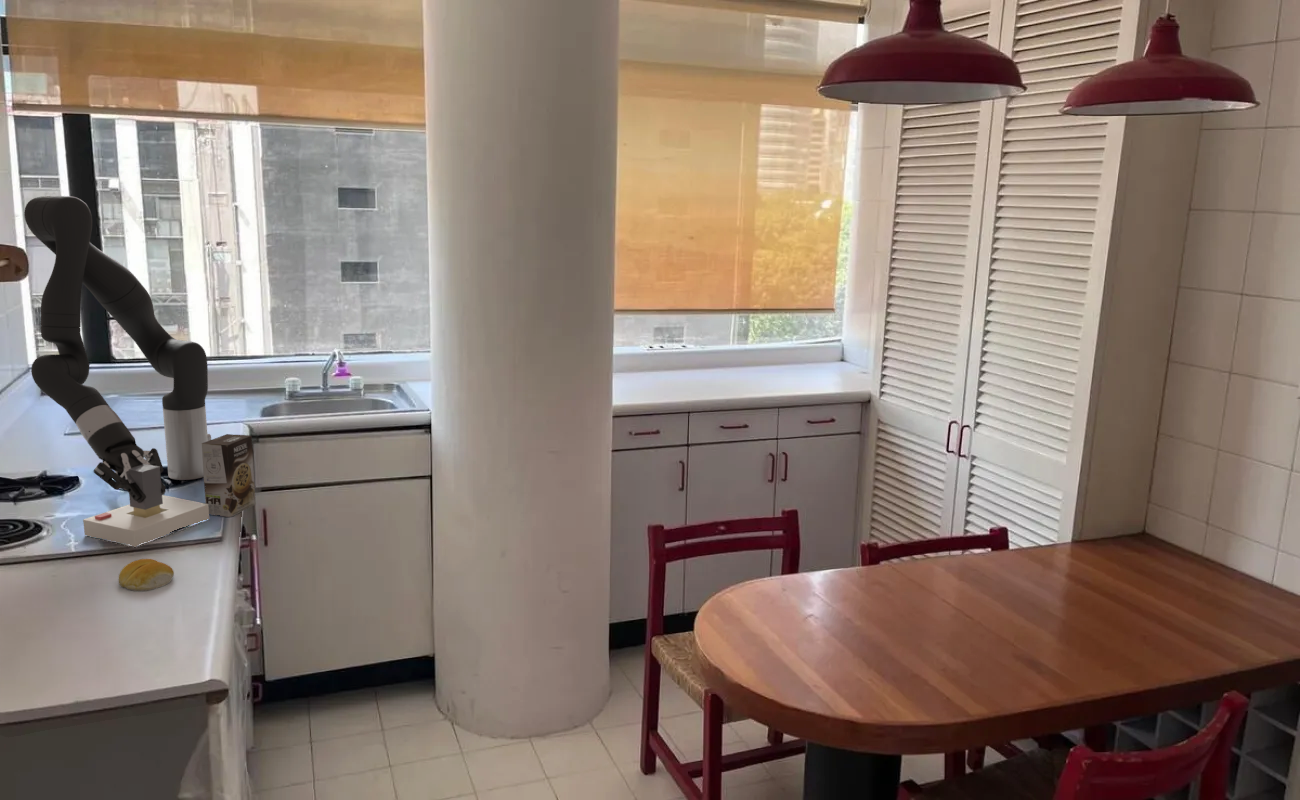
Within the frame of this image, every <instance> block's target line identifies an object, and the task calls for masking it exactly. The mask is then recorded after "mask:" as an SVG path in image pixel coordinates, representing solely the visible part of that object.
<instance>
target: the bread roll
mask: <svg viewBox="0 0 1300 800" xmlns="http://www.w3.org/2000/svg"><path fill="white" fill-rule="evenodd" d="M174 574H175V573H174V569H173V568H172V566H170V565H168V564H167V563H164V562H160V561H158V560H156V559H154V558H141V559H137V560H134V561H131V562H129V563H128V564H126V565H125V566H124V567H123V568H122V569H121V570H120V573H119V574H118V579H117V580H118V583H119V586H120V587H121V588H123V589H127V590H129V591H134V592H144V591H146V592H147V591H151V590H156V589H158V588H161V587H164V586H166V585H168V584H169V583H170V582H171V581H172V579H173V577H174Z"/></svg>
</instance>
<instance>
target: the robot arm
mask: <svg viewBox="0 0 1300 800" xmlns="http://www.w3.org/2000/svg"><path fill="white" fill-rule="evenodd" d="M23 215H24V220H25V224H26V225H27V228H29V230H30V231H31V233H32V234H33V235H34V236H35V237H36V239H38V240H39V241H40V242H41V243H43V245H44V246H45V247H46V248H48V250H50V251H51V252H52V253H53V254H54V255H55V260H54V265H53V269H52V272H51V274H50V276H49V279H48V280H47V283H46V285H45V287H44V291H43V294H42V297H41V303H40V336H41V338H42V340H44V341H46V342H48V343H52V344H55V346H56V348H57V351H58V354H44V355H41V356H38V357H37V358H35V359H34V361H33V362H32V363H31V364H32V365H31V373H30V374H31V377H32V379H33V381H34V383H35V384H36V386H37V387H38V388H39V389H40V390H41V391H42V392H44V394H46V396H48V397H49V398H50V399H52V400H53V401H54V402H55V403H56V404H58V405H59V406H60V407H62V408H63V409H65V411H66V413H67V414H68V415H69V417H70V418H71V420H72V421H73V422H74V424H75V425H76V426H77V428H78V430H79V433H80V434H81V436H82V437H83V438H84V440H85V441H86V442H87V444H88V445H89V446H90V448H91V449H92V450H93V452H94V453H95V455H96V456H97V457H98V459H100V460H102V462H98V464H97V465H96V467H95V468H94V469H93V473H94V474H95V475H96V476H98V478H100V479H102V481H104V482H105V483H107V485H109V486H110V487H111V488H113V490H116V491H118V490H120V489H123V490H125V491H127V492H128V494H130V495H131V497H132V498H133V499H134V500H135V501H137V502H138V503H141V502H143V500H144V499H145V498H146V495H145V494H144V493H143V492H142V490H141V489H140V488H139V486H138V485H137V484H136V483H134V479H133V478H132V476H131V475H130V471H129V469H131V468H132V467H136V466H139V465H145V464H149V465H154V466H159V467H160V475H161V474H162V473H163V472H164V467H163V464H162V460H161V457H160V455H159V452H158V449H157V448H154V447H153V448H151V449H150V450H144V449H143V448H141V447H140V446H139V445H137V442H136V438H135V436H134V435H133V434H132V432H131V431H130V430H129V428H128V426H126V425H125V423H124V422H123V420H122V419H121V418H120V416H119V415H118V413H116V412H115V411H114V410H113V409H112V408H111V406H110V405H109V404H108V402H107V401H106V400H105V398H104V397H103V396H102V394H101V393H100V392H99V391H98V390H97V389H96V388H95V387H93V386H89V385H85V384H84V383H85V382H86V381H87V379H88V377H89V374H90V361H89V358H88V355H87V351H86V348H85V344H84V341H83V338H82V335H81V329H82V328H81V325H82V324H81V323H82V321H81V319H82V317H81V313H82V311H81V305H82V304H81V303H82V288H83V285H84V287H86V288H87V289H88V291H90V294H92V295H93V296H94V298H95V300H97V302H98V303H99V304H100V305H101V306H102V307H103V309H105V310H106V312H107V313H108V314H109V315H110V316H111V317H112V318H113V319H114V320H115V322H117V324H118V325H119V326H120V327H121V328H122V329H123V330H124V332H126V334H127V335H128V336H129V337H130V338H131V339H132V340H133V342H134V343H135V344H136V345H137V347H138V348H139V350H140V351H141V353H142V354H143V355H144V357H145V358H146V360H147V361H148V363H149V364H150V365H151V367H152V369H154V370H155V372H157V373H158V374H159V375H161V376H163V377H166V378H171V379H173V390H172V391H171V392H168V393H166V394H164V395H163V396H162V399H161V402H162V403H161V405H162V415H163V417H162V418H163V427H164V438H165V439H164V440H165V449H166V450H165V451H166V463H167V474H168V478H170V479H172V480H176V481H178V480H179V481H185V480H186V481H190V480H196V479H201V478H204V473H203V457H202V443H204V442H207V441H210V440H212V435H211V434H210V433H208V424H207V423H208V422H207V409H206V397H207V395H208V391H209V390H208V389H209V380H208V377H209V376H208V373H209V370H208V356H207V354H206V352H205V351H206V350H205V349H204V348H203V346H201V345H200V344H199V343H197V342H196V341H195V342H194V341H189V340H182V339H181V340H180V339H176V338H175V337H173V336H172V335H170V334H169V333H168V332H167V331H166V329H164V327H163V326H162V325H161V324H160V323H159V321H158V320H157V318H156V315H155V310H154V304H153V300H152V298H151V296H150V293H149V291H148V290H147V288H145V287H144V285H143V284H142V283H141V281H140V280H139V279H138V278H137V277H136V276H135V275H134V273H132V271H130V269H128V268H127V267H125V266H124V265H123V264H121V263H120V262H118V261H117V260H116V259H114V258H112V257H111V256H109V255H108V254H106V253H105V252H104V251H102V250H100V249H99V248H98V247H96V246H95V245H94V244H92V242H91V237H92V236H91V235H92V229H93V215H92V212H91V209H90V208H89V205H88V204H87V203H86V202H84V201H83V200H82V199H81V198H78V197H76V196H69V195H44V196H37V197H33V198H31V199H30V200H29V201H27V203H26V205H25V207H24V214H23ZM166 488H167V487H166V486H165V484H164V483H163V482H162V480H161V493H162V495H164V494H165V493H166Z"/></svg>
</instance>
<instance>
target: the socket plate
mask: <svg viewBox="0 0 1300 800" xmlns="http://www.w3.org/2000/svg"><path fill="white" fill-rule="evenodd" d="M162 500H163V504H161V505H160V513H158V514H155V515H153V516H150V517H147V518H144V517H139V516H134V508H133V507H131V506H130V503H129V504H127V505H124V506H123V505H122V506H121V507H118V508H114V509H112V510H111V509H110V510H108V511H106V512H105V511H104V512H102V513H99V514H96V515H93V516H90V517H86V518H84V519H82V521H83V523H82V524H83V529H84V530H83V531H84V536H85V535H87V536H91V537H96V538H102V539H107V540H111V541H116V542H120V543H126V544H130V545H132V546H134V547H136V546H137V545H139V544H141V543H144V542H148V541H150V540H153V539H155V538H158V537H161V536H164V535H166V534H169V533H170V532H172V531H174V530H177V529H179V528H182V527H186V526H188V525H191V524H194V523H198V522H200V521H203V520H207V519H209V520H210V515H209V507H208V504H205V502H198V501H195V500H189V499H184V498H179V497H174V496H169V495H164V494H163V495H162ZM87 536H86V537H87ZM91 537H90V538H91ZM134 547H133V548H134ZM136 548H137V547H136Z"/></svg>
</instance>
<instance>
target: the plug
mask: <svg viewBox="0 0 1300 800" xmlns="http://www.w3.org/2000/svg"><path fill="white" fill-rule="evenodd" d="M129 471H130V475H131V476H132V478H133V479H134V483H136V484H137V485H138V486H139V488H140V489H141V490H142V492H143V493H144V494H145V495H146V498H145V499H144V500H143V502H141V503H138V502H137V501H135V500H134V499H133V498H132V497H131V495H130V494H129V493H128V494H129V495H128V496H129V497H128V498H129V504H130V506H131V507H133V508H134V516H139V517H144V518H147V517H150V516H153V515H155V514H158V513H160V505H161V504H163V500H162V493H161V481H162V478H161V474H160V467H159V466H154V465H149V464H145V465H139V466H136V467H132V468H131V469H129Z"/></svg>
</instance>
